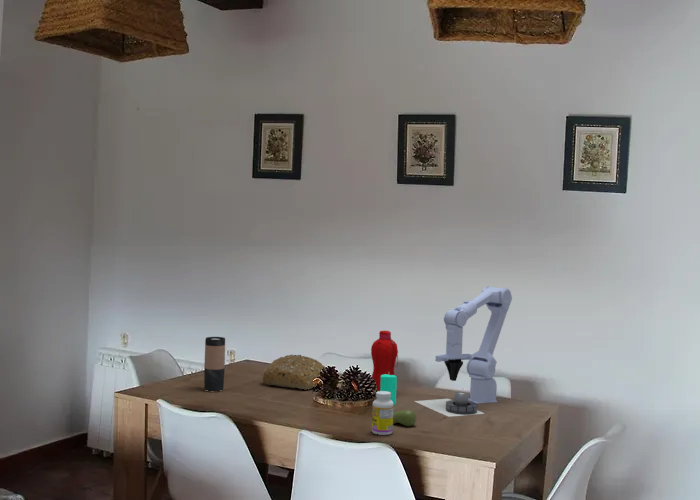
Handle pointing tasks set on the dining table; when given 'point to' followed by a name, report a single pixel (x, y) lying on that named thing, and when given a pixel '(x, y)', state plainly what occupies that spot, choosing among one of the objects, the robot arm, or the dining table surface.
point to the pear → (404, 417)
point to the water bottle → (383, 356)
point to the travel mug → (214, 363)
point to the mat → (441, 406)
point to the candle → (389, 385)
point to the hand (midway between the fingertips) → (453, 380)
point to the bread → (292, 372)
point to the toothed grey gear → (461, 408)
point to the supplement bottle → (382, 414)
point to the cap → (461, 398)
